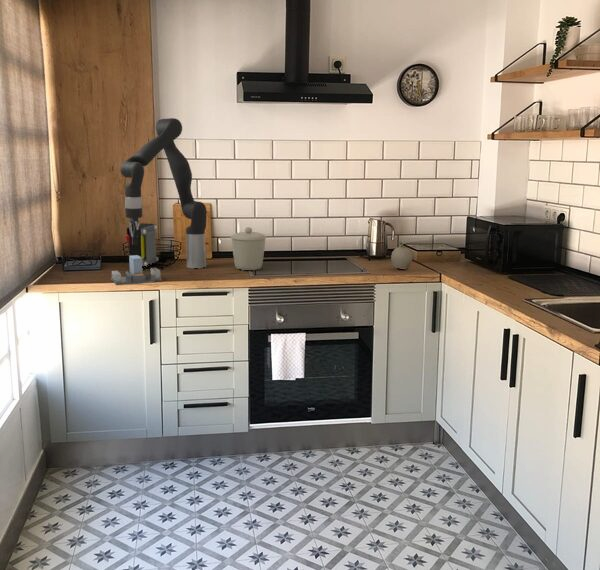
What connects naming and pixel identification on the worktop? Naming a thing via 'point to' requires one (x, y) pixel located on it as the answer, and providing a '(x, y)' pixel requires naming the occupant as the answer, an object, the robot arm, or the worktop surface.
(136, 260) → the pale blue upright block
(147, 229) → the electrical component
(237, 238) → the canister
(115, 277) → the rack
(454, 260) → the worktop surface
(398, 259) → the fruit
